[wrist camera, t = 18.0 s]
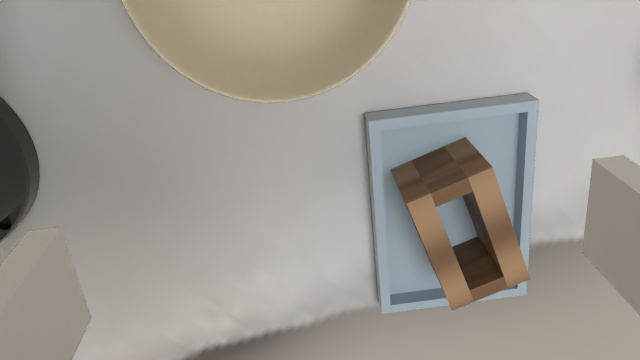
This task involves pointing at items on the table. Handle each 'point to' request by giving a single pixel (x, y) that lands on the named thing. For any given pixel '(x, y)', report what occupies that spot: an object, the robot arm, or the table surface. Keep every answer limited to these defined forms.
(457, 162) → the brown wooden hollow block
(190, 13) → the bowl
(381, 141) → the tray
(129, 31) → the table surface
